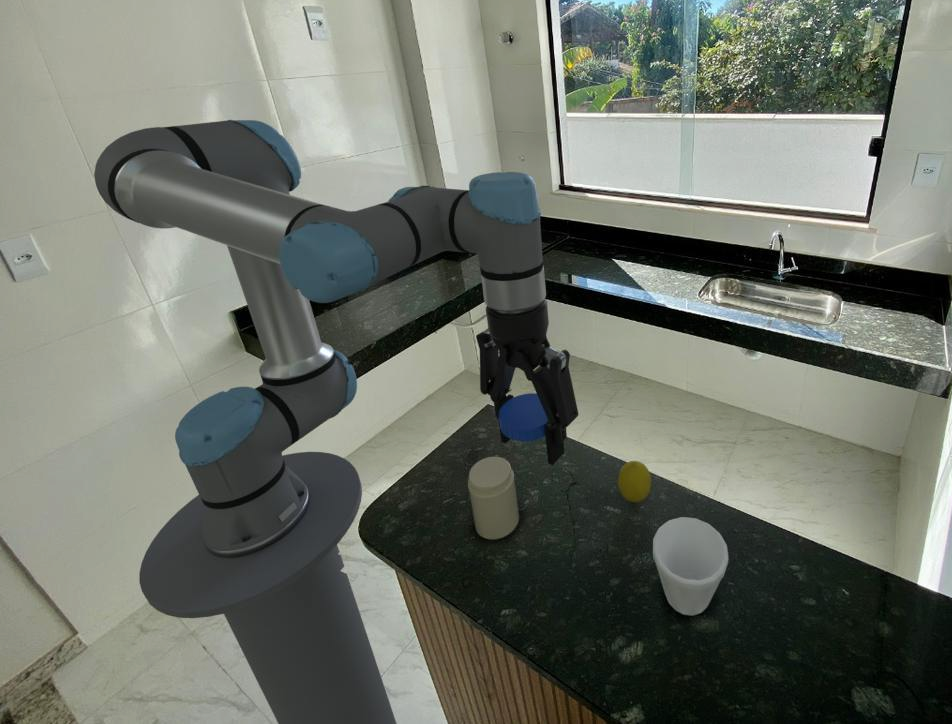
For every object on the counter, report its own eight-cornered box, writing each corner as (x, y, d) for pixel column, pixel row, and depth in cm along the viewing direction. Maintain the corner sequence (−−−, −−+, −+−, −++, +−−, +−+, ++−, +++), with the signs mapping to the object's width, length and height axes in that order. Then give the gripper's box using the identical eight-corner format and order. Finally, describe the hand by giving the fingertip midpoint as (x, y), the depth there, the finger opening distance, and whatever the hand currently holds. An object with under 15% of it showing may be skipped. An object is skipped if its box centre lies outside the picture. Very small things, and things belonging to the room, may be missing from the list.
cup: (637, 598, 68) (637, 552, 64) (676, 548, 74) (678, 504, 71) (700, 649, 61) (704, 601, 58) (736, 589, 68) (742, 543, 65)
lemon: (612, 501, 83) (611, 465, 80) (631, 481, 87) (631, 446, 84) (638, 518, 80) (638, 481, 77) (657, 497, 84) (657, 461, 80)
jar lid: (569, 415, 68) (568, 403, 67) (532, 449, 61) (531, 438, 61) (525, 397, 72) (524, 386, 71) (487, 428, 65) (485, 417, 65)
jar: (465, 531, 78) (456, 481, 74) (491, 497, 84) (483, 450, 80) (504, 545, 76) (496, 494, 72) (527, 509, 82) (521, 461, 78)
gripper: (603, 306, 57) (608, 456, 66) (477, 276, 68) (496, 409, 76) (566, 334, 52) (577, 494, 60) (435, 296, 62) (460, 438, 70)
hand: (532, 447), depth 68 cm, fingers closed on jar lid, 8 cm apart
